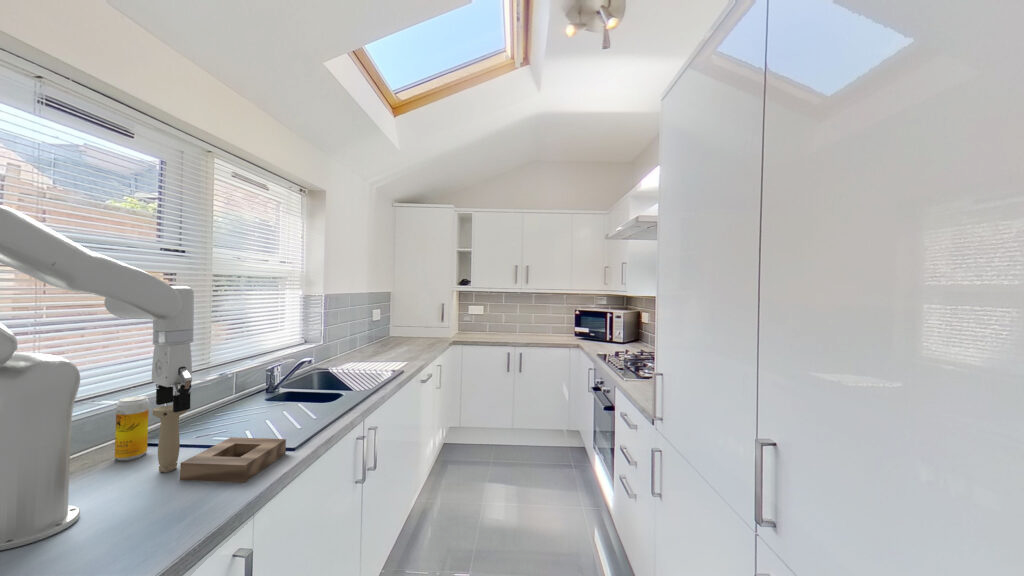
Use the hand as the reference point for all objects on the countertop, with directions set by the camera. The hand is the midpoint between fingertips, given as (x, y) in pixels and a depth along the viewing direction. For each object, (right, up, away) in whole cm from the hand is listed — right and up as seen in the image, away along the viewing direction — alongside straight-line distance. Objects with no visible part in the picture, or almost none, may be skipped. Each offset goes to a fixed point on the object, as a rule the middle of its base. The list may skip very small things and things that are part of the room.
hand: (172, 407), depth 96 cm
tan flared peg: (-1, -15, -1) cm, 15 cm away
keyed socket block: (+14, -15, +2) cm, 21 cm away
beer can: (-16, -15, +6) cm, 23 cm away
